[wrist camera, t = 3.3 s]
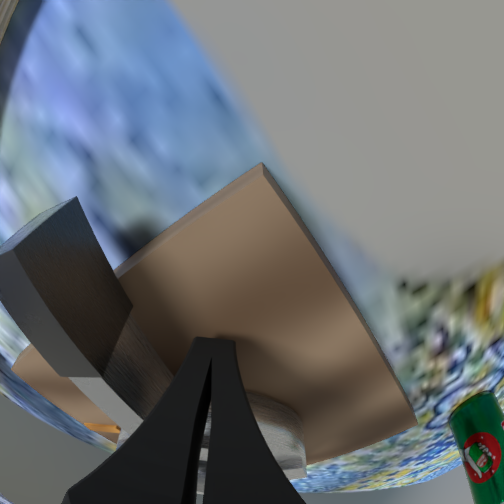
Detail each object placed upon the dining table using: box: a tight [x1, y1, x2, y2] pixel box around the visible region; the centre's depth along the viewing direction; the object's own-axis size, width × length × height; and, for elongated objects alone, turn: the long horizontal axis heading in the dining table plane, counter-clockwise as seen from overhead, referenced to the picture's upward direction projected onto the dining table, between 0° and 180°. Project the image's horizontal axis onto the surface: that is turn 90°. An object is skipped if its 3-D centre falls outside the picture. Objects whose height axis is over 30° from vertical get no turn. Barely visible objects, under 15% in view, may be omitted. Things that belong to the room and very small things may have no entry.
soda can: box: [449, 391, 504, 504], centre depth 13 cm, size 5×5×12 cm
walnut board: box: [11, 162, 418, 465], centre depth 15 cm, size 20×20×2 cm
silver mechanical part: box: [0, 196, 307, 495], centre depth 11 cm, size 19×10×4 cm, turn 15°
